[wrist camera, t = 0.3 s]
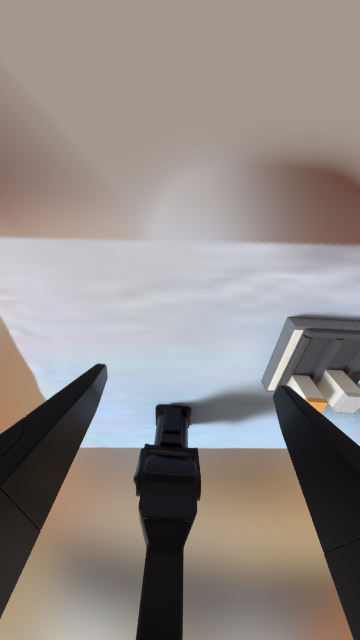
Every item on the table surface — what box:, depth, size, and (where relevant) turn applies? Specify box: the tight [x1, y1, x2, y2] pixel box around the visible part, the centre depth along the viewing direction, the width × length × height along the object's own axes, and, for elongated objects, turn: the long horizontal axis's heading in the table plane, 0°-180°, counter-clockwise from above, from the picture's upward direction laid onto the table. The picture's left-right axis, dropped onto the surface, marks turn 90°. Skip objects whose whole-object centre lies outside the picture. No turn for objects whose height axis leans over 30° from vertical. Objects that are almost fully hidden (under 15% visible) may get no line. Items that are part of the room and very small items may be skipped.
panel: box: [261, 317, 360, 398], centre depth 25 cm, size 12×12×3 cm
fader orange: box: [287, 375, 328, 413], centre depth 24 cm, size 3×2×4 cm
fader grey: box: [316, 370, 360, 413], centre depth 24 cm, size 3×2×4 cm
